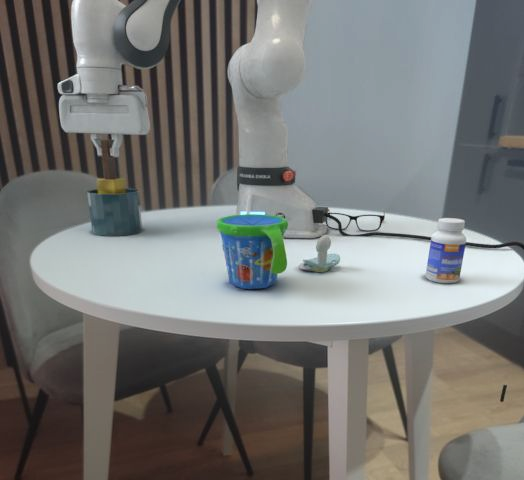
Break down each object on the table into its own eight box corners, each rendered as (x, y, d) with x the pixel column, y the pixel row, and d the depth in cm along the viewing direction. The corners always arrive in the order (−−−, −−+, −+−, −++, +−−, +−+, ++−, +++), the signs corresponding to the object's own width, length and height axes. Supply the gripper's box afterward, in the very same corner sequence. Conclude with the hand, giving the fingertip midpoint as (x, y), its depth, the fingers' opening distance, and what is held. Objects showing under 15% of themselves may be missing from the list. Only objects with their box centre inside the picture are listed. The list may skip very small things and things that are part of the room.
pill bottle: (440, 285, 80) (450, 224, 75) (418, 276, 84) (426, 218, 80) (466, 281, 82) (477, 221, 77) (443, 273, 86) (452, 216, 82)
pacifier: (290, 269, 88) (315, 276, 83) (291, 234, 85) (316, 238, 81) (319, 263, 92) (344, 268, 88) (320, 228, 90) (346, 233, 85)
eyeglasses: (322, 229, 119) (323, 212, 117) (328, 219, 132) (329, 203, 130) (382, 233, 116) (384, 215, 114) (383, 221, 129) (385, 206, 127)
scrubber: (126, 196, 114) (121, 139, 109) (115, 199, 110) (109, 140, 105) (109, 195, 115) (103, 139, 110) (98, 197, 111) (91, 139, 106)
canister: (151, 228, 119) (147, 189, 115) (125, 237, 109) (120, 195, 106) (110, 224, 122) (106, 186, 118) (82, 233, 112) (76, 192, 109)
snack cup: (204, 274, 84) (202, 213, 80) (260, 267, 88) (261, 209, 84) (242, 303, 71) (241, 231, 67) (305, 293, 75) (308, 225, 71)
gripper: (153, 86, 103) (157, 157, 109) (70, 86, 109) (78, 154, 114) (137, 84, 97) (143, 159, 103) (50, 84, 103) (60, 155, 109)
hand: (108, 156), depth 109 cm, fingers closed on scrubber, 2 cm apart
